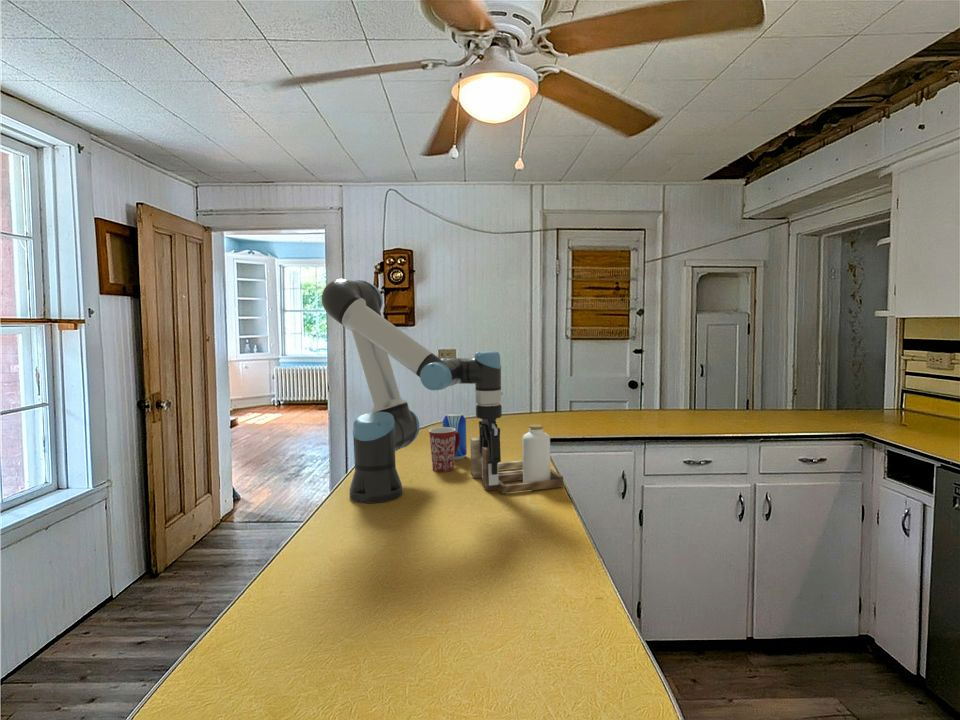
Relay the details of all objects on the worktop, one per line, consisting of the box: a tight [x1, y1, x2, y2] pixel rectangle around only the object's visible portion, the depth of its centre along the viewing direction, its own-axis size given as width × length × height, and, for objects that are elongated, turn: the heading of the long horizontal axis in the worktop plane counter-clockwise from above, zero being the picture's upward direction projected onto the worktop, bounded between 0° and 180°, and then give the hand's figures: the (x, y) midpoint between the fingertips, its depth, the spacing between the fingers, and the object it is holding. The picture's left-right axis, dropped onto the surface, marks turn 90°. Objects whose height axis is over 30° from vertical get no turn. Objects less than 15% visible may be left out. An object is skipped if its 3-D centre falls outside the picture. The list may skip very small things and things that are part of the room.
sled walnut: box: [482, 447, 564, 494], centre depth 170 cm, size 22×12×12 cm, turn 106°
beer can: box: [442, 412, 468, 461], centre depth 206 cm, size 8×8×16 cm
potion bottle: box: [521, 423, 551, 483], centre depth 171 cm, size 8×8×18 cm
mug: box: [428, 426, 460, 473], centre depth 192 cm, size 13×9×14 cm
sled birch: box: [469, 437, 523, 479], centre depth 183 cm, size 22×12×12 cm, turn 106°
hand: (490, 481), depth 168 cm, fingers open, 6 cm apart
